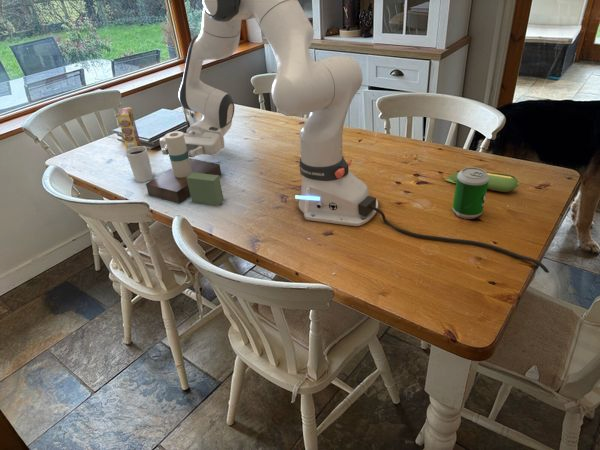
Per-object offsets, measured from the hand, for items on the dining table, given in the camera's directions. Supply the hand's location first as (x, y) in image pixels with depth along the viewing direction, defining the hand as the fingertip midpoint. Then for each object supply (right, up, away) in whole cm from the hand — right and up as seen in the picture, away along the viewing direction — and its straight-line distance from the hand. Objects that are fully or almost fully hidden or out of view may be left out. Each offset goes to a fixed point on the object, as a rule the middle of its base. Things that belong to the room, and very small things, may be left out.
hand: (177, 153), depth 132 cm
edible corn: (+90, -11, -6) cm, 91 cm away
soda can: (+82, -19, -18) cm, 86 cm away
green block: (+10, -15, -3) cm, 18 cm away
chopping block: (+1, -9, +7) cm, 11 cm away
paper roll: (-1, -6, 0) cm, 6 cm away
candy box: (-26, +7, +34) cm, 43 cm away
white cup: (-15, -6, +13) cm, 21 cm away
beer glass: (-3, +12, +38) cm, 40 cm away
